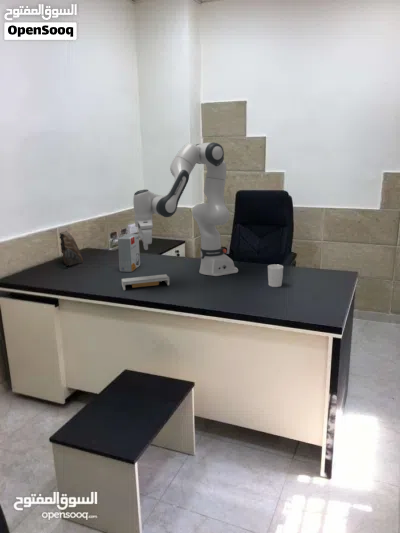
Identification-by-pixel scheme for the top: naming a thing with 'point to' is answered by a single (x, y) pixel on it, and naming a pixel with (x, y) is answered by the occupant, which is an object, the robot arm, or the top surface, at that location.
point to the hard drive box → (129, 252)
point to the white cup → (275, 275)
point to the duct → (131, 284)
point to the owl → (70, 249)
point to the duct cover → (145, 279)
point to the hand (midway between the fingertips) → (145, 249)
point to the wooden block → (145, 284)
